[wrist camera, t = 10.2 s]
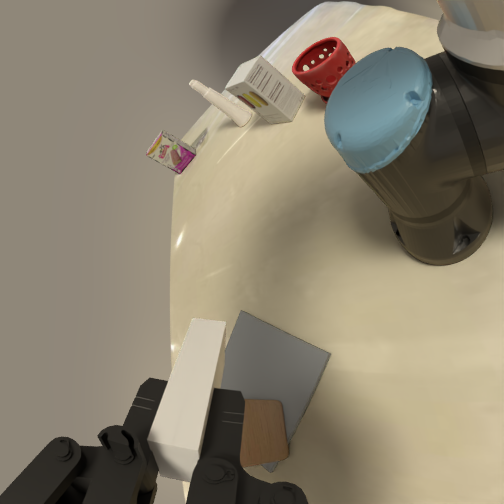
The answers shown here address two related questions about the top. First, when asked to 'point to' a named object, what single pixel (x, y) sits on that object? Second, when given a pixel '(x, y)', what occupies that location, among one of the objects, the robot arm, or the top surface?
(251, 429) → the wooden block
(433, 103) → the robot arm
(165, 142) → the candy bar box
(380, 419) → the top surface
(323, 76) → the plant pot
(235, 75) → the supplement box
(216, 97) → the cosmetic bottle
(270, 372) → the mat
